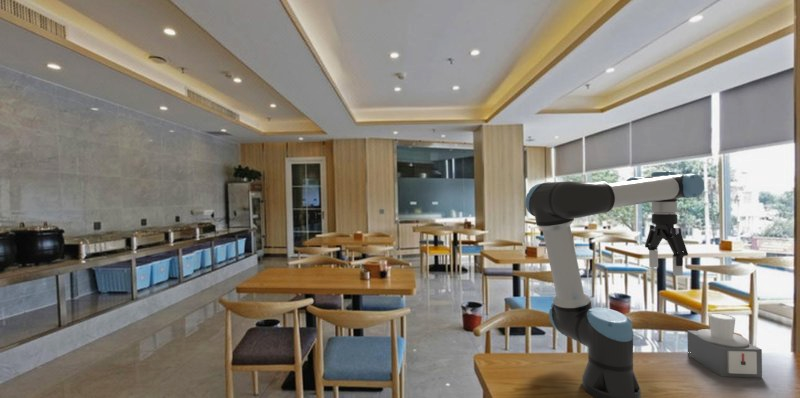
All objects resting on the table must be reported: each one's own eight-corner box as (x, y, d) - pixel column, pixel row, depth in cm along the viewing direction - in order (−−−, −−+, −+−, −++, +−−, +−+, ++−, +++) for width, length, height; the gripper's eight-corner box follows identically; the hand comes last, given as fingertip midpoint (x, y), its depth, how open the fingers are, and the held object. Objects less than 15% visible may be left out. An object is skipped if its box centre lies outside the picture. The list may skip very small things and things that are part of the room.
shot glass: (712, 338, 117) (711, 317, 117) (705, 331, 123) (705, 311, 123) (739, 341, 114) (739, 320, 114) (731, 334, 120) (731, 314, 120)
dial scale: (721, 377, 111) (721, 346, 111) (686, 354, 127) (685, 327, 127) (766, 379, 110) (766, 347, 110) (725, 356, 126) (724, 328, 125)
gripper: (700, 215, 115) (701, 278, 115) (654, 211, 140) (655, 264, 140) (676, 215, 116) (677, 278, 116) (634, 211, 141) (635, 264, 141)
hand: (665, 270), depth 128 cm, fingers open, 13 cm apart
